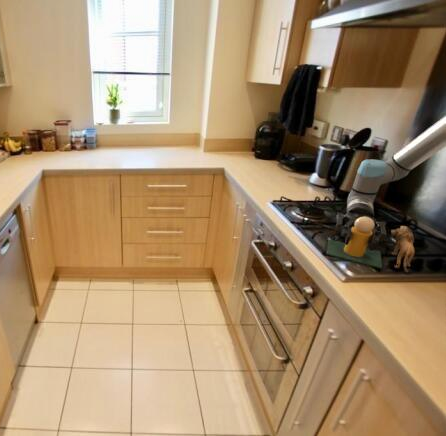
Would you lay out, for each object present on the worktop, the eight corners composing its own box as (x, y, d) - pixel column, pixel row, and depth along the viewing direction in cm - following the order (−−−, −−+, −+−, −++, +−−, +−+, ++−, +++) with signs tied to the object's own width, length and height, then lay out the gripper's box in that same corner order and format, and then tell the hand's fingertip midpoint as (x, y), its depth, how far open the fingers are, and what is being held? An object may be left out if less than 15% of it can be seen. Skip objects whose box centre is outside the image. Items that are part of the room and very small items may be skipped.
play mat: (379, 253, 100) (380, 251, 99) (381, 269, 92) (382, 267, 92) (328, 241, 107) (328, 239, 106) (326, 255, 99) (326, 253, 99)
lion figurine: (382, 246, 103) (392, 222, 99) (402, 249, 101) (414, 225, 97) (395, 272, 91) (408, 246, 87) (419, 276, 89) (433, 250, 85)
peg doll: (363, 250, 100) (377, 216, 94) (363, 258, 96) (378, 223, 90) (343, 246, 102) (356, 212, 97) (343, 253, 99) (356, 218, 93)
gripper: (388, 229, 107) (394, 263, 90) (326, 216, 116) (320, 245, 99) (397, 209, 103) (405, 241, 86) (332, 197, 112) (327, 224, 95)
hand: (359, 243), depth 92 cm, fingers open, 5 cm apart
